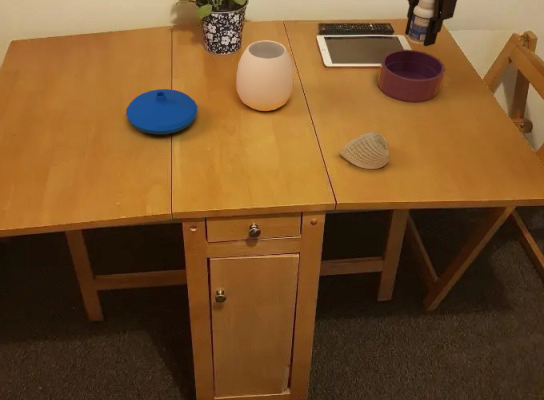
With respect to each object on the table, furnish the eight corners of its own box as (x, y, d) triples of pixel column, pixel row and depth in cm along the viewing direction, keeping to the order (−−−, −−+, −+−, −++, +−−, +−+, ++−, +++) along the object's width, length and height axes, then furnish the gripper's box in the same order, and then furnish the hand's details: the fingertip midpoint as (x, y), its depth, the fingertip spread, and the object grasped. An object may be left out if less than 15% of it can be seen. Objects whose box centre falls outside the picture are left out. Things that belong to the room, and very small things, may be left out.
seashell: (399, 164, 116) (369, 152, 112) (369, 180, 122) (340, 169, 118) (395, 129, 119) (366, 117, 115) (366, 146, 126) (338, 135, 122)
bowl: (451, 93, 139) (458, 71, 134) (404, 109, 134) (410, 87, 130) (410, 66, 148) (415, 44, 144) (365, 80, 143) (369, 58, 139)
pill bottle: (412, 32, 135) (422, -10, 128) (435, 38, 133) (445, -4, 126) (403, 41, 132) (412, -1, 125) (426, 47, 129) (437, 5, 123)
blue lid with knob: (114, 119, 131) (109, 92, 126) (169, 93, 139) (167, 67, 134) (155, 151, 122) (152, 124, 118) (212, 122, 130) (211, 96, 125)
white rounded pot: (254, 123, 130) (256, 70, 120) (225, 95, 138) (225, 43, 129) (303, 107, 134) (308, 55, 125) (272, 81, 143) (275, 30, 134)
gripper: (400, -79, 121) (380, 25, 137) (466, -50, 109) (435, 60, 125) (428, -85, 123) (405, 19, 139) (495, -57, 111) (461, 52, 127)
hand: (419, 38), depth 132 cm, fingers closed on pill bottle, 5 cm apart
